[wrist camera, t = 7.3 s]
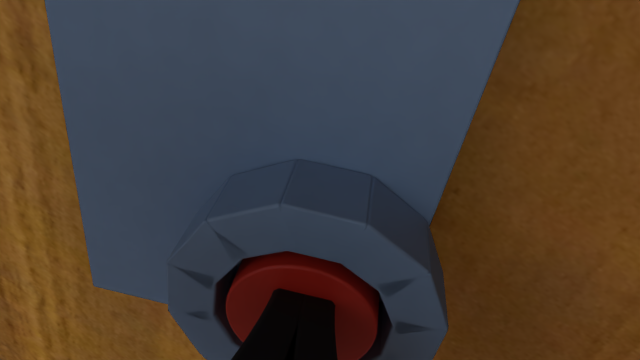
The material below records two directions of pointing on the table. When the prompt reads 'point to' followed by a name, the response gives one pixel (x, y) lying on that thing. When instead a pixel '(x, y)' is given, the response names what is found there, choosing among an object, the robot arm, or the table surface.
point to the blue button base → (271, 145)
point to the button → (311, 279)
